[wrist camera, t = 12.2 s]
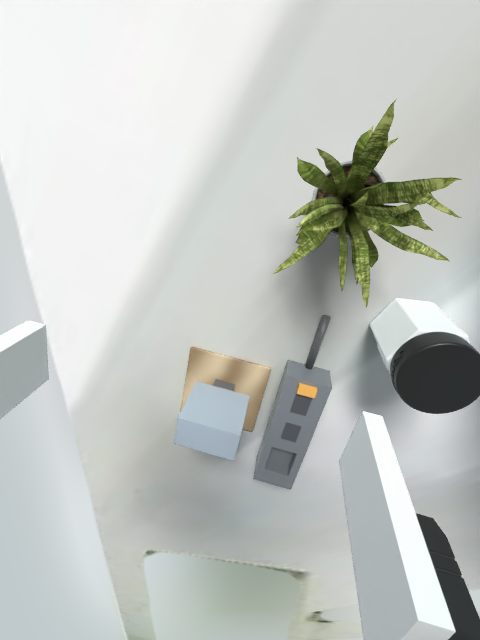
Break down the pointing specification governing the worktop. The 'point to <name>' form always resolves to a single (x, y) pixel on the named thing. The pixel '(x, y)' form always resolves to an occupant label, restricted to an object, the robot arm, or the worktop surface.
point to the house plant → (363, 206)
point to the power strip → (293, 417)
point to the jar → (427, 356)
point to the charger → (212, 419)
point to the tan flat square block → (228, 378)
